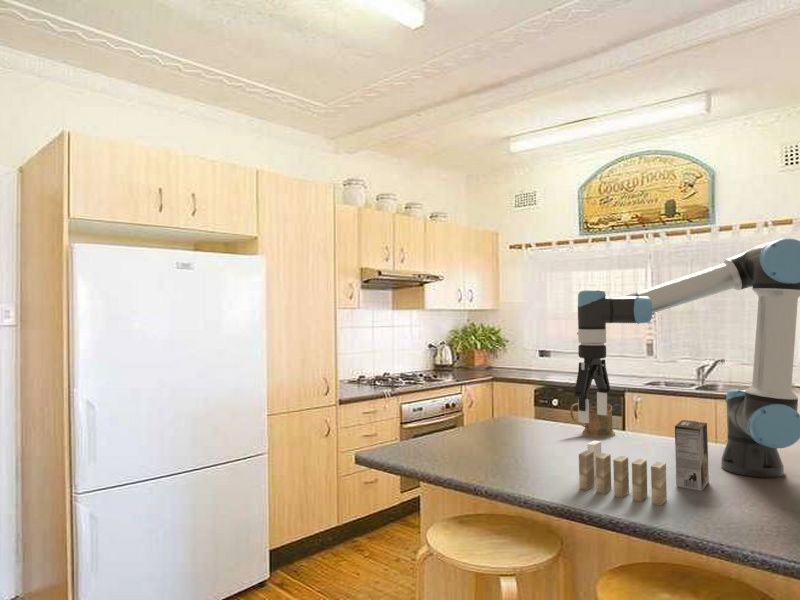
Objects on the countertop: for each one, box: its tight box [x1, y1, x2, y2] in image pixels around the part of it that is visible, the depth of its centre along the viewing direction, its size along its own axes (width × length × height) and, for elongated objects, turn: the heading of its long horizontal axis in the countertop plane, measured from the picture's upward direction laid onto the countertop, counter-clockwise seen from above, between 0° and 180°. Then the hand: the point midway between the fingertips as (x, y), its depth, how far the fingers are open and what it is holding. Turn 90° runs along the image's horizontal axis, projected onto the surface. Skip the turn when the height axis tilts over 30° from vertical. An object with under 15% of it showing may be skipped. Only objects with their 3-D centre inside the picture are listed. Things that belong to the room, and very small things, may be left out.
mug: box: [569, 402, 616, 438], centre depth 204 cm, size 12×18×12 cm, turn 107°
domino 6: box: [650, 461, 668, 507], centre depth 133 cm, size 2×5×9 cm, turn 139°
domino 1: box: [578, 449, 595, 491], centre depth 145 cm, size 2×5×9 cm, turn 139°
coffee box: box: [674, 419, 710, 492], centre depth 146 cm, size 9×6×16 cm
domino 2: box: [587, 440, 602, 478], centre depth 156 cm, size 2×5×9 cm, turn 139°
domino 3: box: [595, 452, 612, 495], centre depth 142 cm, size 2×5×9 cm, turn 139°
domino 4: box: [612, 455, 630, 498], centre depth 139 cm, size 2×5×9 cm, turn 139°
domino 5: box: [631, 458, 648, 502], centre depth 136 cm, size 2×5×9 cm, turn 139°
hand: (593, 418), depth 156 cm, fingers open, 13 cm apart
